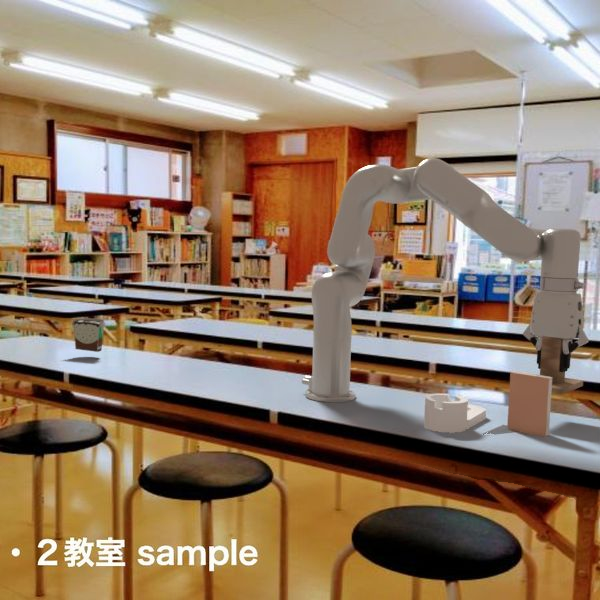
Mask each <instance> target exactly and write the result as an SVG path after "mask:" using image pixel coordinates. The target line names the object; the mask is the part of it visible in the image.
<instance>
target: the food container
mask: <svg viewBox="0 0 600 600" xmlns="http://www.w3.org/2000/svg"><path fill="white" fill-rule="evenodd" d="M71 326H73V334H74V347H75V349H74V350H78V351H79V350H81V351H87V352H88V351H89V352H94V353H99V352H102V347H103V337H104V329H105V328H106V327H107V326H106V322H105V320H104V319H103V318H102V319H101V318H87V317H86V318H73V319H72V324H71Z"/></svg>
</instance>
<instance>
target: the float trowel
mask: <svg viewBox="0 0 600 600" xmlns="http://www.w3.org/2000/svg"><path fill="white" fill-rule="evenodd" d="M562 353H563V347H562V339H561V338H556V337H548V336H542V349H541V364H540V369H539V375H542V376H548V377H552V392H551V394H553V395H559V396H563V395H565V394H567V393H569V392H572V391H574V390H576V389H579V388H581V387H583V386H584V380H582V379H577V378H576V379H575V378H570V377H566V371H565V372H560V356H561V354H562Z"/></svg>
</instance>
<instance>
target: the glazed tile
mask: <svg viewBox="0 0 600 600" xmlns="http://www.w3.org/2000/svg"><path fill="white" fill-rule="evenodd" d="M509 374H510V376H509V391H508V394H509V395H508V409H507V429H510V430H515V431H519V432H520V433H525V434H530V435H534V436H535V435H536V436H540V437H547V436H549V435H550V423H551V422H550V420H551V406H552V405H551V404H552V403H551V402H552V393H551V392H552V377H548V376H542V375H540V374H534V373H528V372H521V371H517V370H514V371H511V372H510V373H509ZM519 432H518V433H519Z"/></svg>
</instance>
